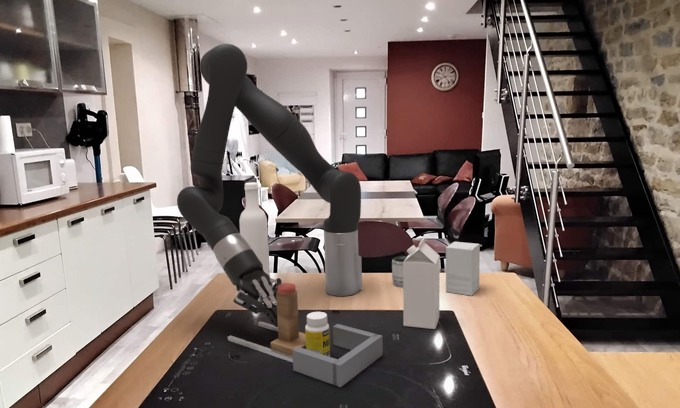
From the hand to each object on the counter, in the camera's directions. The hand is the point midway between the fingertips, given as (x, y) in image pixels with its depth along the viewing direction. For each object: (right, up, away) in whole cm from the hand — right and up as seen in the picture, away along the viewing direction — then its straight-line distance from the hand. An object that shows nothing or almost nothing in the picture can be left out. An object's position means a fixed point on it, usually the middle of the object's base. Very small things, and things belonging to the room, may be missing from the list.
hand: (281, 324), depth 98 cm
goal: (+12, -5, -8) cm, 15 cm away
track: (-1, -4, +2) cm, 5 cm away
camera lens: (+30, +2, +37) cm, 48 cm away
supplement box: (+46, +1, +31) cm, 55 cm away
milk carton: (+31, -2, +10) cm, 33 cm away
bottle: (-12, +1, +39) cm, 40 cm away
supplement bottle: (+8, -5, -5) cm, 11 cm away
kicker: (+3, -5, -1) cm, 5 cm away
